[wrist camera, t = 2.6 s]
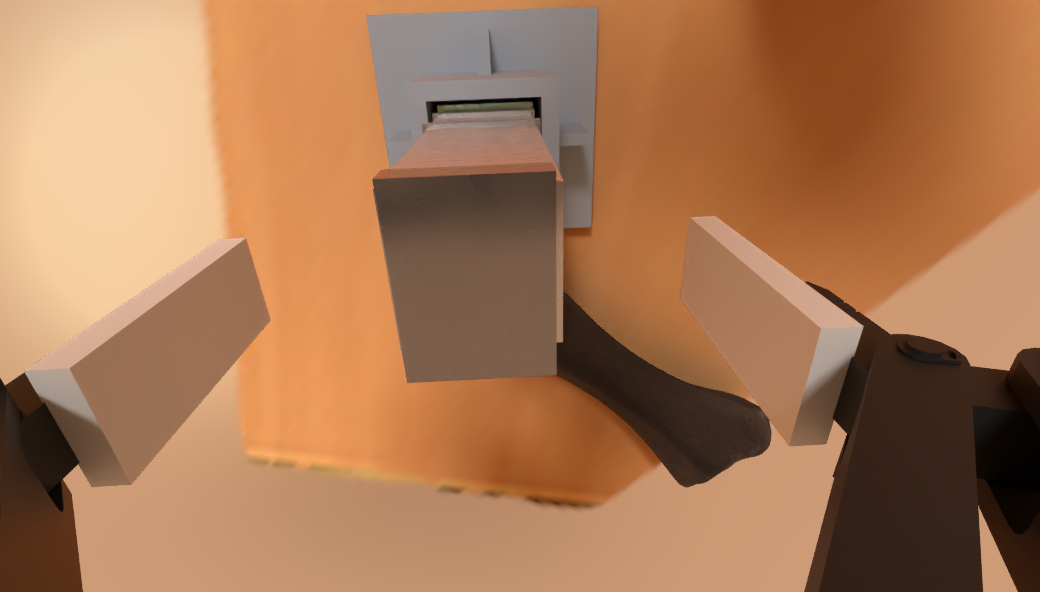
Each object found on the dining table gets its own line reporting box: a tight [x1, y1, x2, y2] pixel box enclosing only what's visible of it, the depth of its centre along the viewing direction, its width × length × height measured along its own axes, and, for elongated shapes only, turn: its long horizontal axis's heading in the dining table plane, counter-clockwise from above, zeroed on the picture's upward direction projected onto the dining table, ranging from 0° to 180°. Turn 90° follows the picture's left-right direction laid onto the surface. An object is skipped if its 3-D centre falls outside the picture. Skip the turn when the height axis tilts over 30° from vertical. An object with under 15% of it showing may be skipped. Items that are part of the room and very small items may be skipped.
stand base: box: [366, 7, 598, 228], centre depth 34 cm, size 16×16×12 cm
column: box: [373, 97, 564, 383], centre depth 25 cm, size 6×6×27 cm
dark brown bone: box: [557, 291, 771, 487], centre depth 47 cm, size 11×10×28 cm
